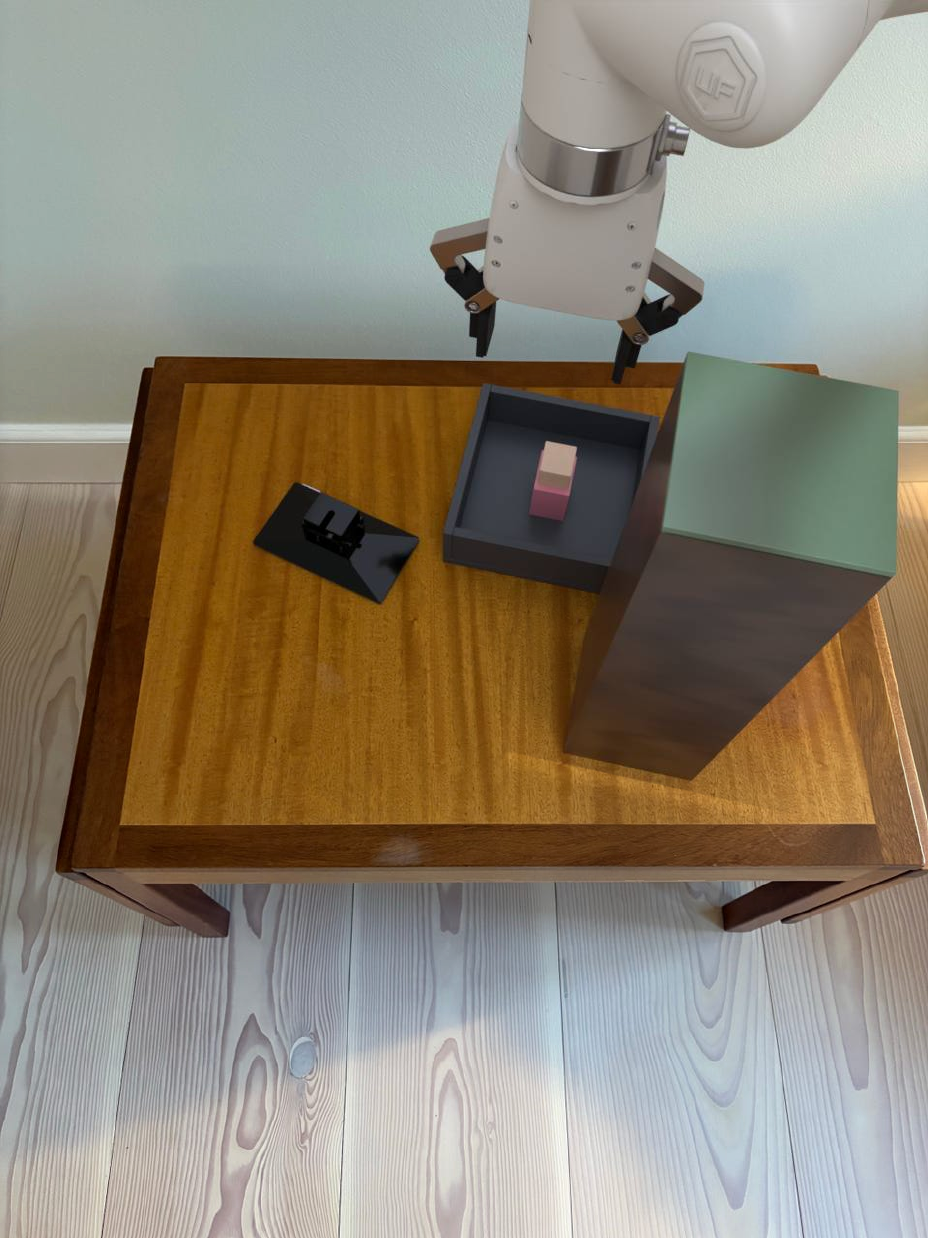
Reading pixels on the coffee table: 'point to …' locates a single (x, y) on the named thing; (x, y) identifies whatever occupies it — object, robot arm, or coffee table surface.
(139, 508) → the coffee table surface
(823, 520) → the stand
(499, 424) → the basin
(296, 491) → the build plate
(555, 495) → the pink block
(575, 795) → the coffee table surface
